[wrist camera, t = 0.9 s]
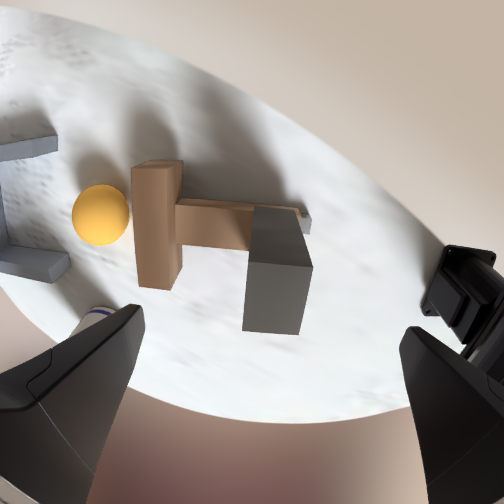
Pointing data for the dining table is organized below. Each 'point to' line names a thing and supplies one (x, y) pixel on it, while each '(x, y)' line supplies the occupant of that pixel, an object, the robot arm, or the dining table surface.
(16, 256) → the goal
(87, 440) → the robot arm
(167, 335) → the dining table surface
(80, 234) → the ball
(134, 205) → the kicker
